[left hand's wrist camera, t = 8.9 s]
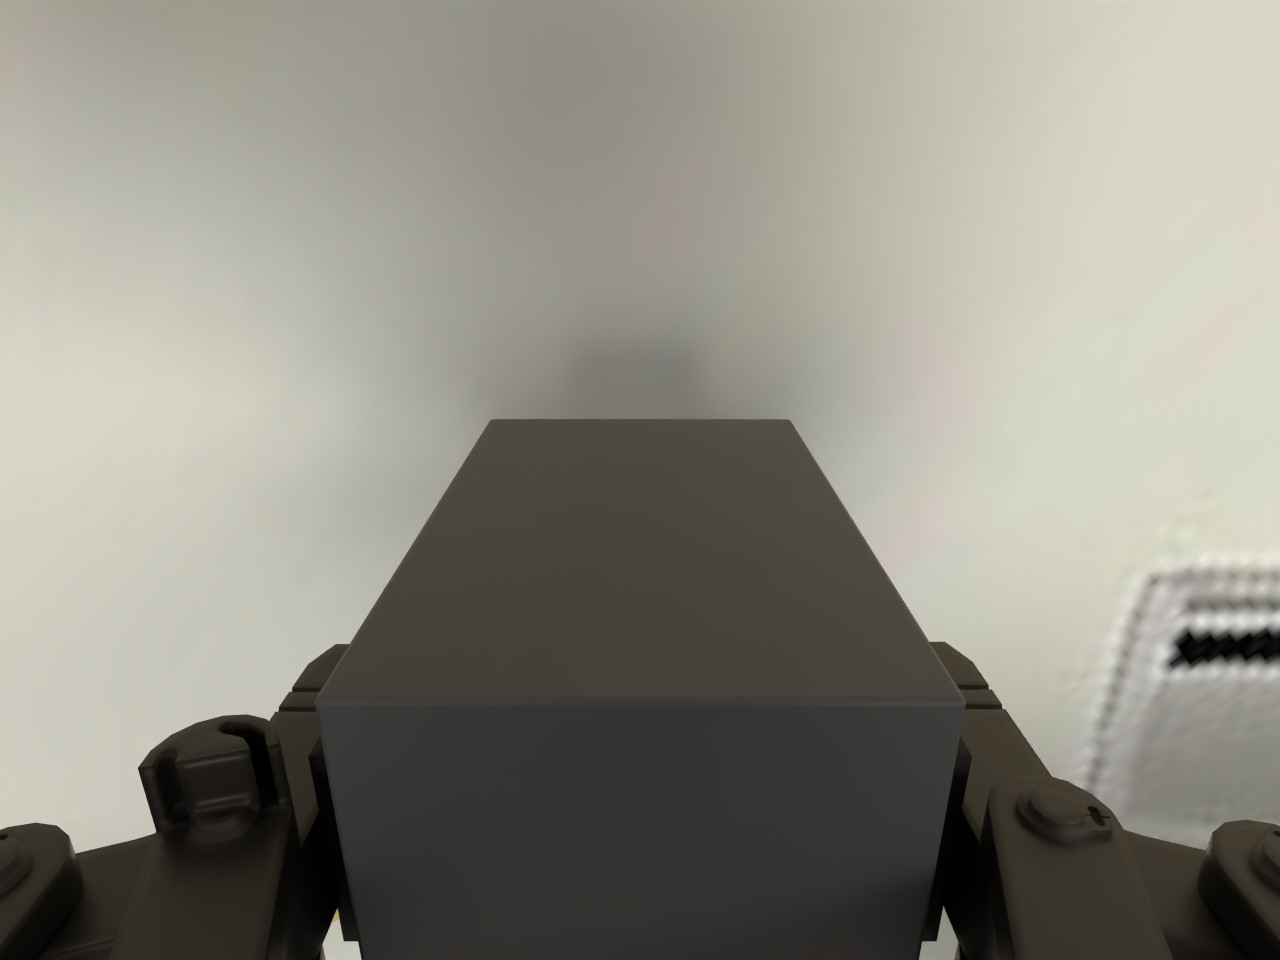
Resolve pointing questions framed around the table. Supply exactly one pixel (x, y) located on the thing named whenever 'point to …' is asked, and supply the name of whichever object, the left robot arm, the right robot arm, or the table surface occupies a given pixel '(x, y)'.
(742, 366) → the table surface
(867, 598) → the bar
